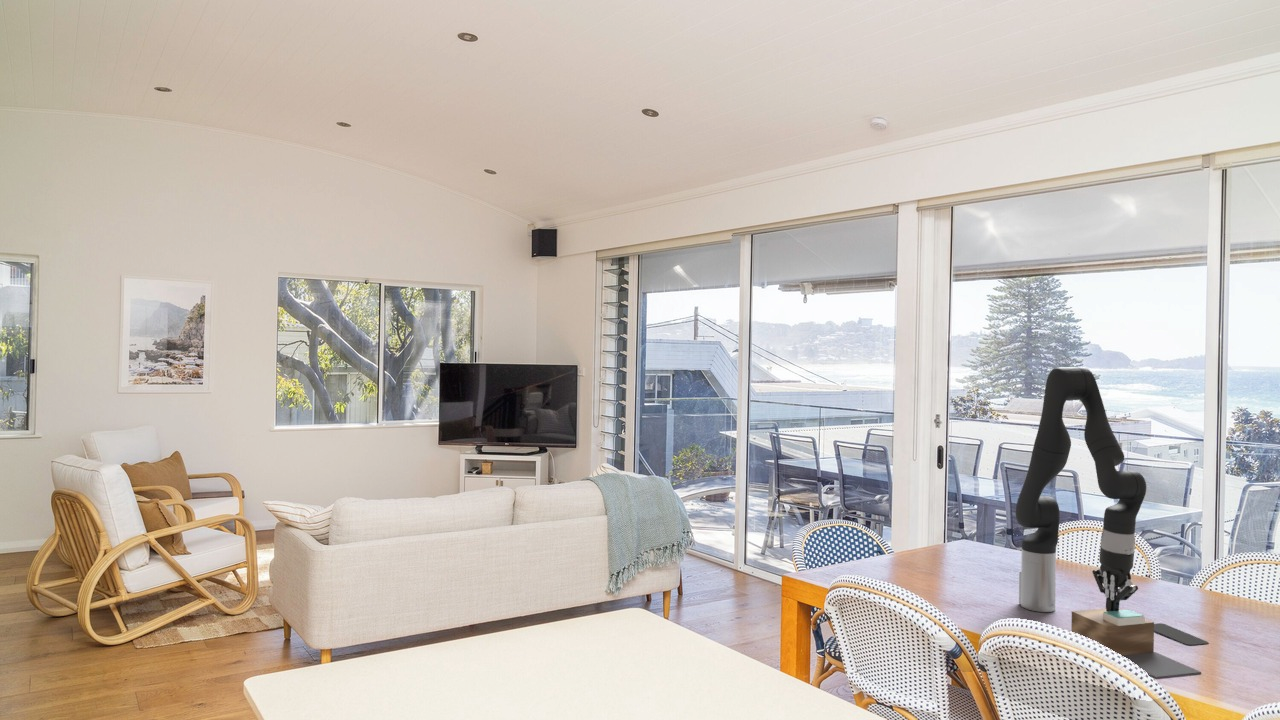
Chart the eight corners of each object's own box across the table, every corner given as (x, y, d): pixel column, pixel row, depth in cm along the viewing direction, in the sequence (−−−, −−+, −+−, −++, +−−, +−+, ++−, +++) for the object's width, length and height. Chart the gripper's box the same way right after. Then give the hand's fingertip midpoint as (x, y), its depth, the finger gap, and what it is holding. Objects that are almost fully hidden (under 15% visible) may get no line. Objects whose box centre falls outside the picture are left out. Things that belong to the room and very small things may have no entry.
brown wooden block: (1071, 641, 215) (1071, 611, 215) (1115, 637, 218) (1116, 607, 218) (1107, 658, 204) (1107, 626, 203) (1153, 653, 207) (1154, 622, 207)
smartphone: (1187, 644, 212) (1140, 624, 227) (1187, 648, 212) (1140, 627, 227) (1211, 642, 214) (1162, 622, 228) (1210, 646, 214) (1162, 625, 229)
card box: (1102, 619, 209) (1102, 611, 209) (1128, 617, 211) (1128, 609, 211) (1118, 625, 204) (1118, 618, 204) (1144, 623, 206) (1144, 615, 206)
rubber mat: (1112, 657, 204) (1112, 656, 204) (1155, 653, 207) (1155, 652, 207) (1155, 678, 191) (1155, 676, 191) (1201, 673, 194) (1201, 671, 194)
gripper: (1085, 540, 215) (1080, 603, 216) (1125, 557, 202) (1120, 624, 204) (1109, 538, 216) (1104, 601, 218) (1151, 555, 204) (1145, 622, 205)
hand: (1111, 612), depth 211 cm, fingers closed
